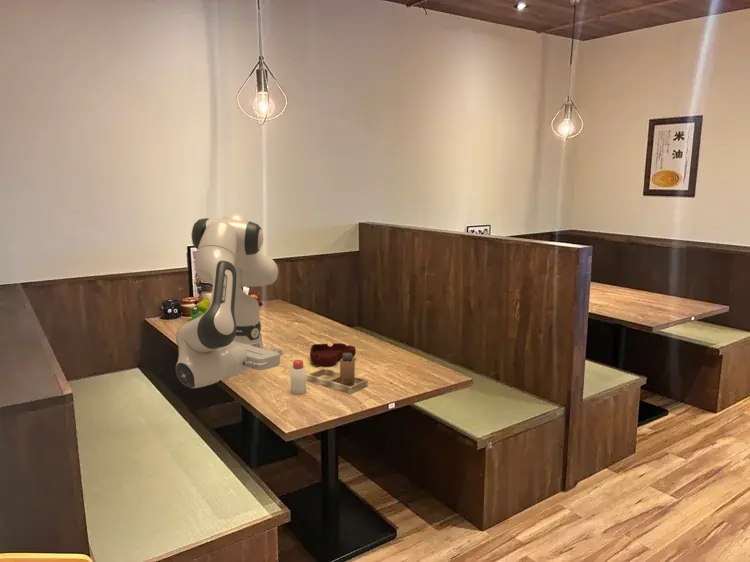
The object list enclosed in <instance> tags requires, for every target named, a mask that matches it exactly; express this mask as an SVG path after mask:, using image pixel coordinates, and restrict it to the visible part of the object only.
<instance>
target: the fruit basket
mask: <svg viewBox="0 0 750 562" xmlns="http://www.w3.org/2000/svg"><path fill="white" fill-rule="evenodd" d="M210 304H211V300H210V299H209V298H208V297H207V298H206V297H204V298H203V300H201V301H199V302H198V304H197V308H193V309H190V317H191V320H193V319H196V318H198V317H200V316H201V315H203V314H204V313H205V312H206V311H207V310H208V308H209V307H210Z"/></svg>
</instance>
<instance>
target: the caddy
mask: <svg viewBox="0 0 750 562" xmlns="http://www.w3.org/2000/svg"><path fill="white" fill-rule="evenodd" d="M306 382H310V383H313V384H316V385H319V386H323V387H326V388H329V389H332V390H335V391H339V392H343V393H345V394H349V395H351V394H354V393H355V392H358V391H360V390H362V389H364V388H366V387H368V386H369V385H368V383H369V380H368V379H365V378H362V377H359V376H355V385H353V386H346V385H343V384H340V371H337V370H334V369H329V368H326V367H324V368H320V369H318V370H316V371H313V372H311V373H309V374H308V373H307V374H306Z"/></svg>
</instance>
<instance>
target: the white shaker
mask: <svg viewBox="0 0 750 562" xmlns="http://www.w3.org/2000/svg"><path fill="white" fill-rule="evenodd" d="M290 392H291V394H293V395H301V394H302V395H303V394H305V393H307V366H306V365H304V361H303V360H302V359H296V360H293V361H292V366H290Z"/></svg>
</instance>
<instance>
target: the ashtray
mask: <svg viewBox="0 0 750 562" xmlns="http://www.w3.org/2000/svg"><path fill="white" fill-rule="evenodd" d="M309 351H310V352H309V358H310V361H311V362H312V363H314V364H315V365H318V366H320V367H331V366H333V365H335V364H336V363H338V362H340V359H342V358H343V353H352V358H353V359H354V357H355V355H356V346H354V345H349V344H348V345H347V344H346V343H339V342H337V343H336V342H335V343H333V344H332V345H331V346H330V345H329V344H328V343H315V344H312V345H311V347H310V350H309Z"/></svg>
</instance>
